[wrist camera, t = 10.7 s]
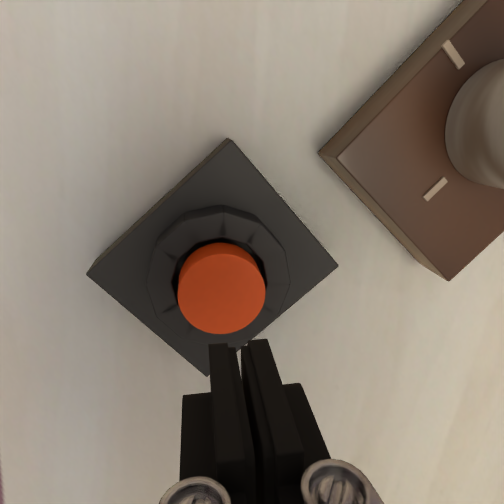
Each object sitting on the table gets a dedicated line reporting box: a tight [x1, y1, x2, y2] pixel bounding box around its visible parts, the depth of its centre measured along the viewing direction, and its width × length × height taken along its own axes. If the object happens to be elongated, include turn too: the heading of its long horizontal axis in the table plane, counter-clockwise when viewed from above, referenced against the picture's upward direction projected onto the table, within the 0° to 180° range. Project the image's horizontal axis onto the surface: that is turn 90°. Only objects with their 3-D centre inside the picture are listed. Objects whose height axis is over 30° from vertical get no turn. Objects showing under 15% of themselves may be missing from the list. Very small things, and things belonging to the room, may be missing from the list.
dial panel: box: [318, 0, 504, 281], centre depth 21 cm, size 14×10×3 cm
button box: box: [86, 138, 338, 377], centre depth 21 cm, size 10×9×4 cm
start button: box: [178, 243, 265, 334], centre depth 19 cm, size 4×4×2 cm
